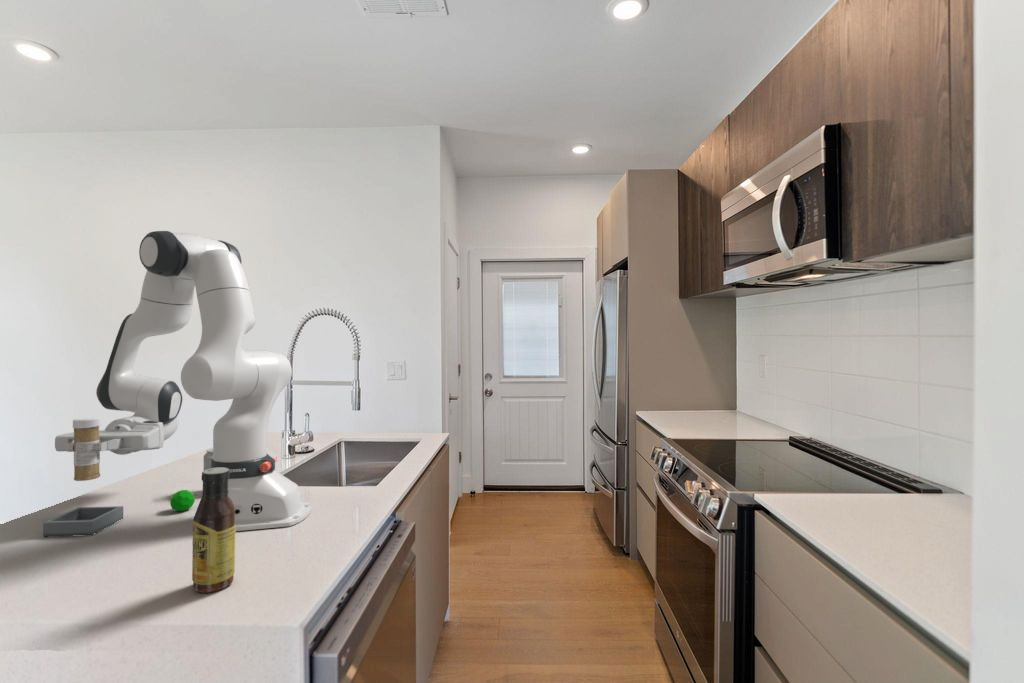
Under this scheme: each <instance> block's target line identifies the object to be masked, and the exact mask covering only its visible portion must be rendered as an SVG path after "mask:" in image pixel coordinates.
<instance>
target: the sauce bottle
mask: <svg viewBox="0 0 1024 683" xmlns="http://www.w3.org/2000/svg"><path fill="white" fill-rule="evenodd" d="M229 476H230V475H229V469H228V468H225V467H216V468H210V469H206V470H204V469H203V471H202V472H201V481H202V493H201V497H200V501H199V502H198V503H199V504H198V506H197V508H196V511H195V513H194V516H193V519H192V564H191V565H192V570H191V571H192V572H191V574H192V576H191V579H192V580H191V581H192V583H193V585H192V586H193V587H192V588H193V590H194V591H195V592H198V593H201V594H208V593H213V592H217V591H220V590H223V589H225V588H227V587H229V586H230V585H232V583H233V581H234V575H235V570H236V569H235V568H236V567H235V566H236V565H235V564H236V562H235V561H236V531H235V528H236V522H235V506H234V504H233V502H232V500H231V499H230V498H229V496H228V493H229V491H228V478H229Z"/></svg>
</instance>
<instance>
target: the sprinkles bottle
mask: <svg viewBox="0 0 1024 683" xmlns="http://www.w3.org/2000/svg"><path fill="white" fill-rule="evenodd" d="M100 420H101V418H100V417H98V416H88V417H87V416H85V417H79V418H74V419H73V420H72V428H73V432H74V452H73V468H74V470H73V472H74V476H73V481H76V482H85V481H91V480H96V479H98V478H100V477H101V472H100V462H101V457H100V456H101V455H100V453H101V451H95V450H94V448H95V447H94V445H95V443H98V442H100V440H99V430H100V425H101V421H100Z"/></svg>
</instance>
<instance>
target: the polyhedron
mask: <svg viewBox="0 0 1024 683" xmlns="http://www.w3.org/2000/svg"><path fill="white" fill-rule="evenodd" d="M169 501H170V502H169V503H170V507H171V509H172V510H174V512H178V511H183V512H185V510H186V511H187V510H189V509H191V508H192V507H193V505H194V503H195V501H196V498H195V495H194V493H193V492H191V491H190V490H188V489H181V490H178V491H176V492H175V493H173V495H172V496H171V498H170V500H169Z"/></svg>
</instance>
